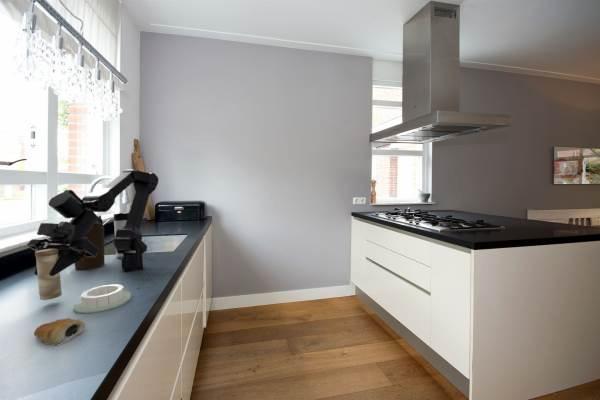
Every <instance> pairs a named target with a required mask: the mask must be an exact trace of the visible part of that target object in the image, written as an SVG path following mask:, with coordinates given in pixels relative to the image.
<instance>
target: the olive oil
mask: <svg viewBox="0 0 600 400" xmlns="http://www.w3.org/2000/svg"><path fill="white" fill-rule="evenodd" d="M88 234H89V235H90V236H89V238H84V239H83V240H89V241H90V242H91V243H93V244H94V245H95V246H97V247H98V253H97V255H96V256H95V257H86V255H85V253H84V255H83V257H84V259H81V260H79V261H77V262H76V263H74V269H75V270H78V271H83V270H85V271H86V270H92V269H97V268H100V267H102V266H104V265H105V261H106V260H105V225H104V222H103V223H102V224H94V225H93V227H92V228H91V229H90V231H89V232H88Z"/></svg>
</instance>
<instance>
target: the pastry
mask: <svg viewBox="0 0 600 400" xmlns="http://www.w3.org/2000/svg"><path fill="white" fill-rule="evenodd" d="M85 328H86V324H85V322H84V321H83V320H80V319H75V318H70V317H68V318H63V319H57V320H56V319H55V320H53V321H50V322H48V323H43V324H40V325H38V327H37V328H36V329H35V330H34V332H33V335H34V336H35V338H37V339H38V340H39V342H40V343H43V344H46V343H47V345H50V344H54V345H53V346H59V345H58V344H60V345H62V344H64V343H63V342H65V343H67V342H69V341H70V339H71V338H72V339H74V338H75V337H76V336H78V334H79V335H80V334H82V333H83V331H84V330H85ZM72 339H71V340H72ZM68 340H69V341H68ZM66 341H67V342H66ZM61 343H62V344H61Z"/></svg>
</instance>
